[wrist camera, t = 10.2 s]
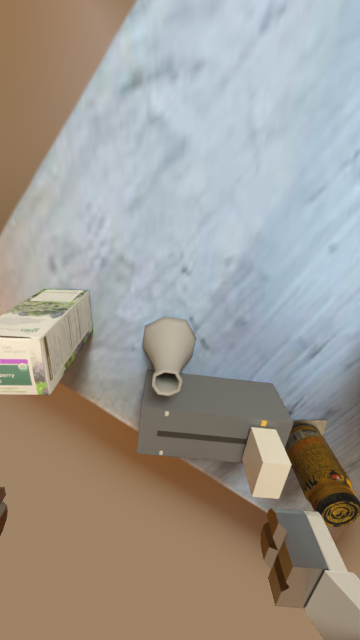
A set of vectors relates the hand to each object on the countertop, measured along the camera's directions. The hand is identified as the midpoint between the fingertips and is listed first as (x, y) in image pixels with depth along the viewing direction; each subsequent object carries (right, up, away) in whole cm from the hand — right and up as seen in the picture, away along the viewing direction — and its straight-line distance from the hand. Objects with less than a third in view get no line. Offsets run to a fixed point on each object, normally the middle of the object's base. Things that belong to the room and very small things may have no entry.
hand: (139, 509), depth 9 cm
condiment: (+19, -13, +37) cm, 44 cm away
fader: (+11, -9, +26) cm, 30 cm away
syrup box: (-13, +7, +28) cm, 32 cm away
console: (+5, -5, +34) cm, 35 cm away
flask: (0, +3, +30) cm, 31 cm away
